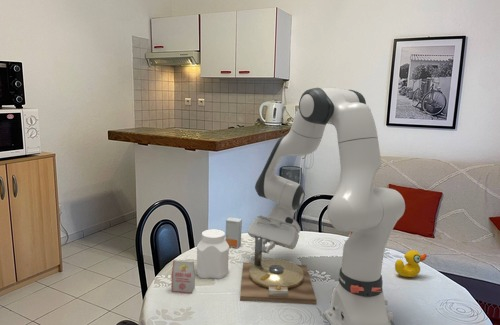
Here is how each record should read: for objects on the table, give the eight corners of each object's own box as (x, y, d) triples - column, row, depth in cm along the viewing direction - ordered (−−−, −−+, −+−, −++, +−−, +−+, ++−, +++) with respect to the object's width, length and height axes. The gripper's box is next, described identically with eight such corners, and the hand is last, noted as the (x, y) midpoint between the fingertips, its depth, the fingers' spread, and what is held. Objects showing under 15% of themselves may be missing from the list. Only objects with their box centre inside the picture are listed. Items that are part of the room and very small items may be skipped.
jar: (194, 278, 127) (195, 237, 125) (198, 265, 137) (199, 227, 134) (227, 279, 127) (228, 239, 125) (229, 267, 137) (230, 229, 134)
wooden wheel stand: (316, 304, 114) (317, 291, 113) (240, 300, 114) (240, 287, 113) (306, 269, 137) (306, 258, 137) (242, 266, 138) (243, 255, 137)
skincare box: (224, 246, 155) (225, 219, 153) (228, 242, 159) (229, 216, 157) (238, 248, 154) (239, 221, 152) (241, 245, 158) (242, 218, 156)
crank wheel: (306, 291, 118) (309, 256, 116) (248, 288, 118) (249, 254, 116) (299, 265, 137) (301, 234, 135) (249, 262, 137) (250, 232, 135)
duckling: (419, 272, 138) (422, 247, 137) (427, 279, 133) (430, 253, 131) (391, 272, 137) (393, 248, 135) (398, 279, 132) (401, 254, 130)
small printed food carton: (174, 286, 121) (175, 258, 120) (194, 287, 121) (195, 259, 119) (171, 291, 118) (171, 263, 116) (191, 293, 117) (192, 264, 115)
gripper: (254, 210, 143) (238, 241, 137) (299, 222, 132) (284, 256, 126) (260, 218, 148) (244, 248, 142) (304, 230, 136) (290, 263, 130)
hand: (263, 252), depth 133 cm, fingers closed
